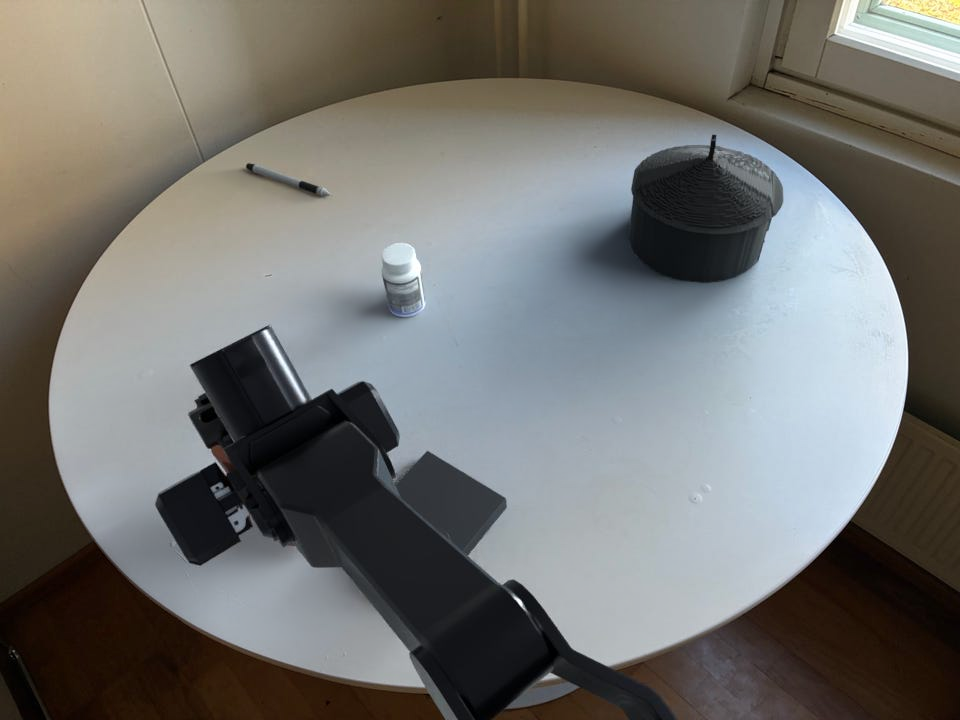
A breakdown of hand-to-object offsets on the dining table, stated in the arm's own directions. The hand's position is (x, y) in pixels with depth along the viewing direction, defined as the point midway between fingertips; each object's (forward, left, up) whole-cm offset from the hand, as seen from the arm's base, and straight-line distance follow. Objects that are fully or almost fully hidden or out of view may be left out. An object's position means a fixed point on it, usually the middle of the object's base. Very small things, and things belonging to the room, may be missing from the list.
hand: (270, 462), depth 68 cm
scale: (+7, -11, -10) cm, 17 cm away
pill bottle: (+30, +11, -10) cm, 33 cm away
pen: (+40, +43, -10) cm, 59 cm away
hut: (+61, -13, -10) cm, 63 cm away
